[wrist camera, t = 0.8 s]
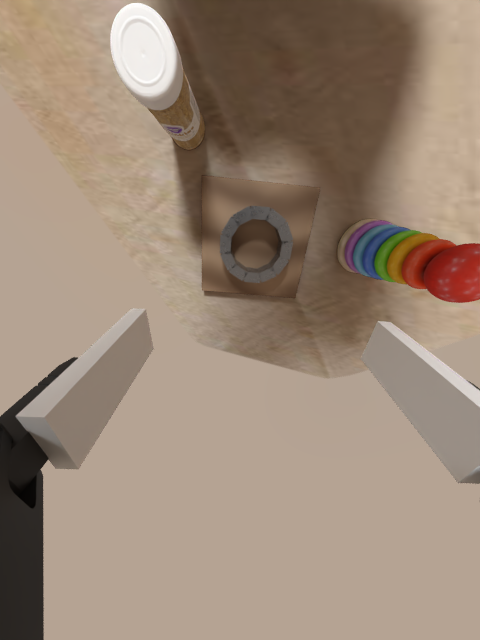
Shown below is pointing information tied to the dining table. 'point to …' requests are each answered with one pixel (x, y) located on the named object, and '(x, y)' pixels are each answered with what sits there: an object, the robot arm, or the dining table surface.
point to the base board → (254, 232)
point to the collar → (282, 249)
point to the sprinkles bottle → (156, 72)
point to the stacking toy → (412, 259)
